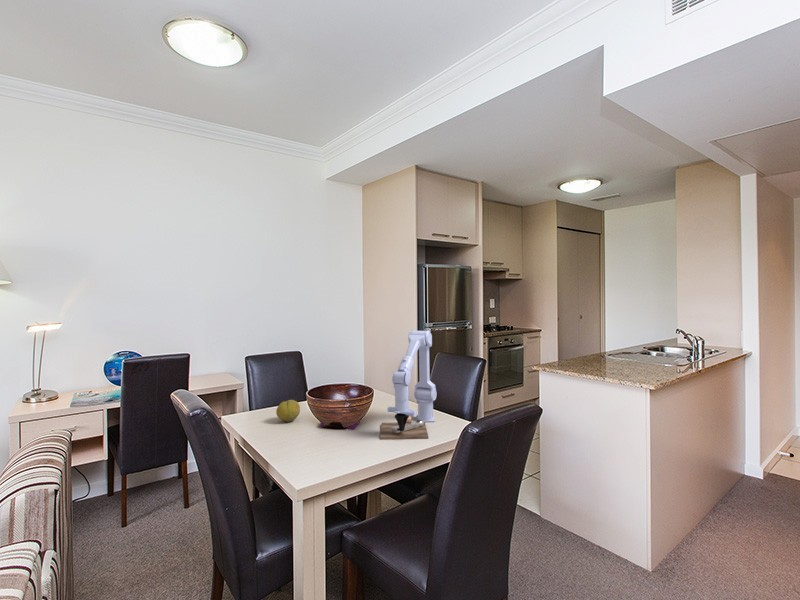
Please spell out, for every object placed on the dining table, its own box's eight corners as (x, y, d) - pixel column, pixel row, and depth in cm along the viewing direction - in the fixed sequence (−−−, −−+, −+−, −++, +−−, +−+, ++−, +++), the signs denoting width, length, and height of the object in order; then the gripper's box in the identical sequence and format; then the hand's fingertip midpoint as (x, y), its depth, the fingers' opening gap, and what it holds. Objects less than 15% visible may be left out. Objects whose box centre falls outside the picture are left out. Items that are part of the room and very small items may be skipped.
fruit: (305, 420, 199) (305, 400, 199) (284, 426, 190) (283, 404, 190) (293, 416, 207) (293, 396, 207) (271, 421, 198) (271, 400, 198)
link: (419, 423, 189) (419, 419, 189) (425, 425, 186) (425, 421, 186) (390, 431, 177) (390, 426, 177) (396, 433, 174) (396, 429, 174)
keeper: (420, 423, 190) (420, 414, 190) (421, 427, 183) (421, 419, 183) (402, 423, 190) (402, 415, 190) (402, 428, 183) (402, 419, 183)
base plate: (381, 424, 191) (381, 422, 191) (424, 424, 192) (424, 421, 192) (380, 439, 171) (380, 437, 171) (428, 438, 172) (428, 436, 172)
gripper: (382, 398, 177) (383, 430, 177) (409, 403, 168) (409, 436, 168) (393, 395, 183) (393, 426, 183) (419, 400, 174) (419, 432, 174)
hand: (402, 431), depth 176 cm, fingers closed
